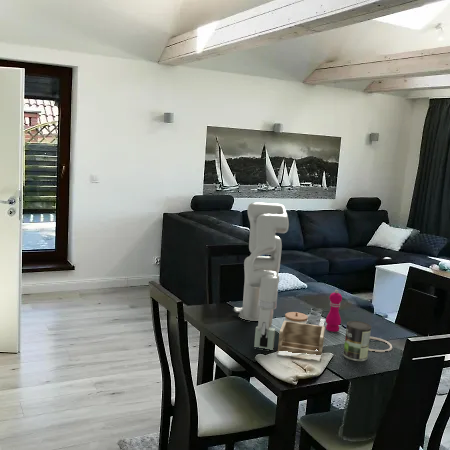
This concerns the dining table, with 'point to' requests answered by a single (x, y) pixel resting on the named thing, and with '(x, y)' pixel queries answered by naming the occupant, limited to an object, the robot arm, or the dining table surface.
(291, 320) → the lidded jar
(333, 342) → the dining table surface
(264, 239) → the robot arm
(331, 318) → the pepper mill
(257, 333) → the rectangular block
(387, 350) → the hand towel holder
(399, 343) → the dining table surface
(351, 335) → the coffee can
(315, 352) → the cabinet frame
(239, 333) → the dining table surface
